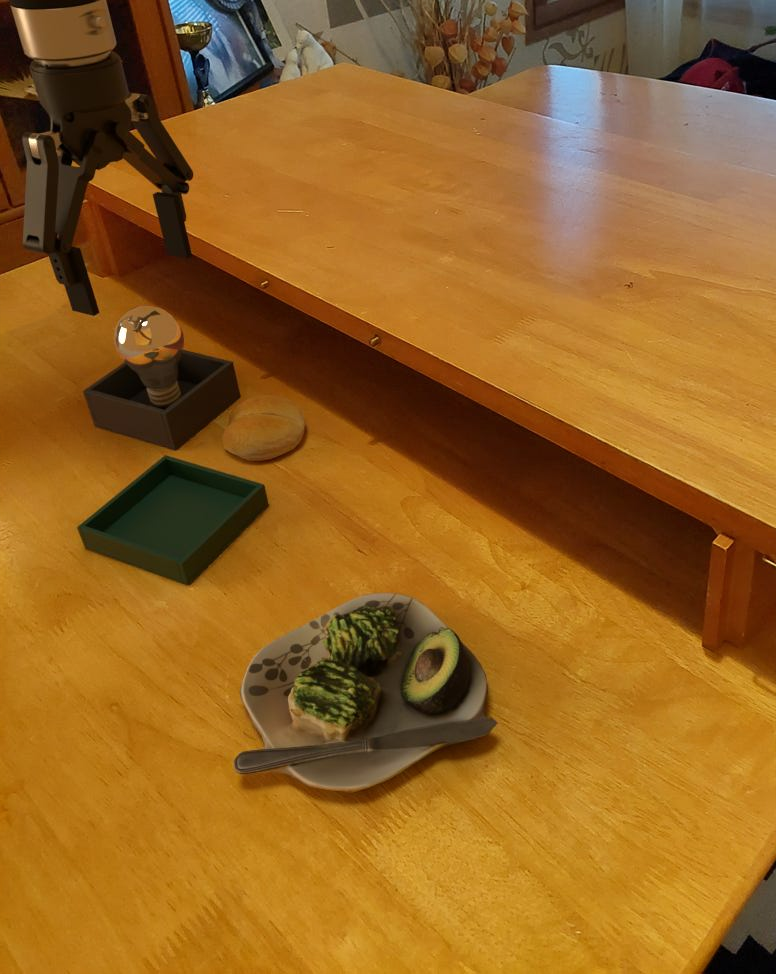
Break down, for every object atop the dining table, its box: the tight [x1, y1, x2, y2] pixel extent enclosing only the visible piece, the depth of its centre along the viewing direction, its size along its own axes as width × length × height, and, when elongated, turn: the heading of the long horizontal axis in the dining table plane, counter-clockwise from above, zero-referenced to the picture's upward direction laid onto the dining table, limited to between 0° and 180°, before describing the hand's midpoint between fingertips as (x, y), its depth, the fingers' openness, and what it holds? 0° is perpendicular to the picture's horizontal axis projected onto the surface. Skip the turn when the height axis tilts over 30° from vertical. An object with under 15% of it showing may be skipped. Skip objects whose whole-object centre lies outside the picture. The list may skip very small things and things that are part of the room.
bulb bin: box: [82, 349, 241, 451], centre depth 101 cm, size 11×11×5 cm
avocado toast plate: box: [233, 592, 499, 794], centre depth 68 cm, size 19×18×5 cm
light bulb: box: [113, 304, 185, 409], centre depth 99 cm, size 7×7×12 cm
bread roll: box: [221, 394, 307, 462], centre depth 97 cm, size 8×9×4 cm
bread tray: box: [76, 454, 270, 586], centre depth 86 cm, size 12×12×3 cm
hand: (135, 282), depth 93 cm, fingers open, 13 cm apart
